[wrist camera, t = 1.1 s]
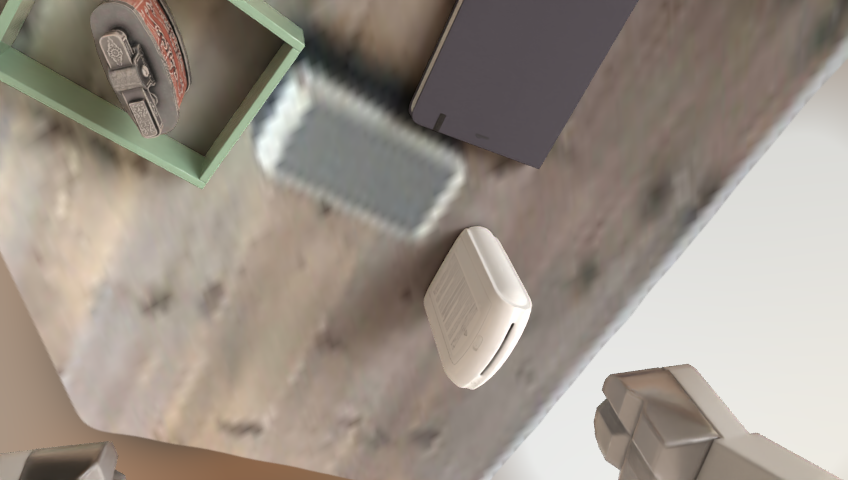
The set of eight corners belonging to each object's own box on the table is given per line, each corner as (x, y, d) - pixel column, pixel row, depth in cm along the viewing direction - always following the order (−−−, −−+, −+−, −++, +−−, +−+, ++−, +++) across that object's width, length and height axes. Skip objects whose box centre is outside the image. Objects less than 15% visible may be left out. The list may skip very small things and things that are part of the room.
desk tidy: (89, -129, 36) (71, -126, 33) (303, 30, 44) (305, 45, 40) (-2, 48, 40) (-27, 66, 37) (207, 165, 48) (202, 189, 44)
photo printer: (453, 312, 62) (488, 405, 51) (416, 303, 60) (444, 397, 50) (502, 231, 57) (550, 315, 47) (463, 219, 55) (505, 303, 45)
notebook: (532, 161, 54) (676, -86, 44) (539, 169, 52) (688, -83, 43) (404, 113, 49) (535, -176, 39) (408, 121, 47) (544, -176, 38)
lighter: (106, -18, 39) (61, 20, 31) (158, -28, 40) (127, 7, 32) (155, 98, 44) (128, 157, 36) (201, 88, 44) (184, 145, 36)
